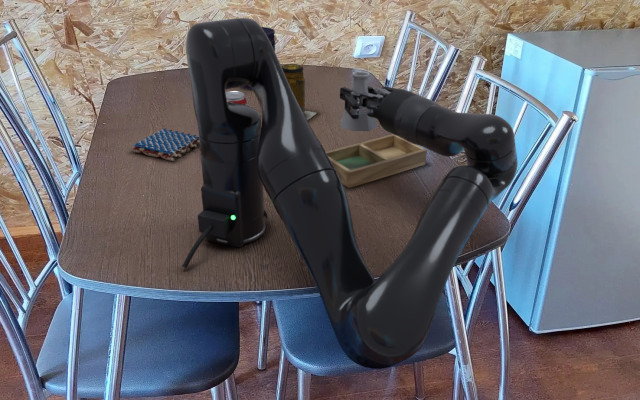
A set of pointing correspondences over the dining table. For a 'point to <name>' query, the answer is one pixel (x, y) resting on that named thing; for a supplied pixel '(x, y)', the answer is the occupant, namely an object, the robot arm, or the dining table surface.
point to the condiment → (297, 85)
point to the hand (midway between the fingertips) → (350, 90)
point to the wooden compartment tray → (375, 159)
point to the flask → (361, 87)
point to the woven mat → (166, 144)
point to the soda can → (236, 97)
